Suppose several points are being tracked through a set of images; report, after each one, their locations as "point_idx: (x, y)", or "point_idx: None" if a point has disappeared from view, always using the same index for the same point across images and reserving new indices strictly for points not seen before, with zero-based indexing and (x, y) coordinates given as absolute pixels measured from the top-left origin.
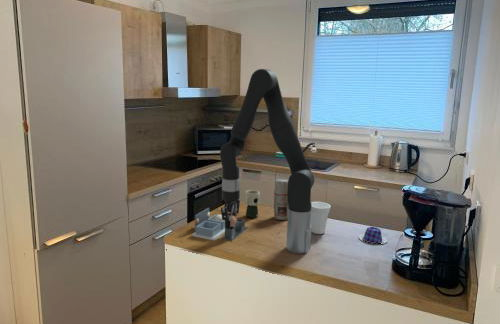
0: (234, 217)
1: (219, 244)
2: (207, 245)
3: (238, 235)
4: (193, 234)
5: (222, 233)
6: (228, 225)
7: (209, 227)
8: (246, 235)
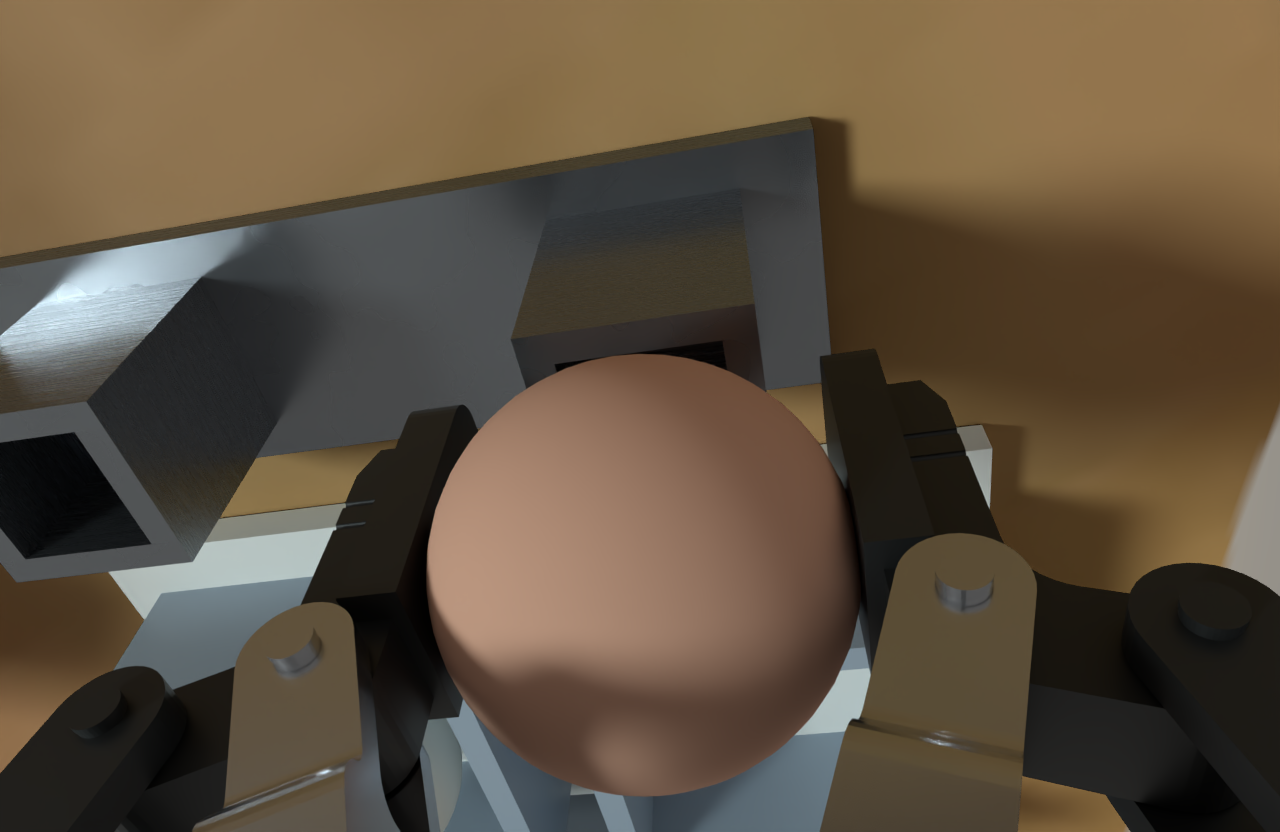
0: (597, 566)
1: (1130, 235)
2: (1271, 390)
3: (440, 184)
4: None
5: None
6: (914, 439)
7: None
8: (269, 27)
